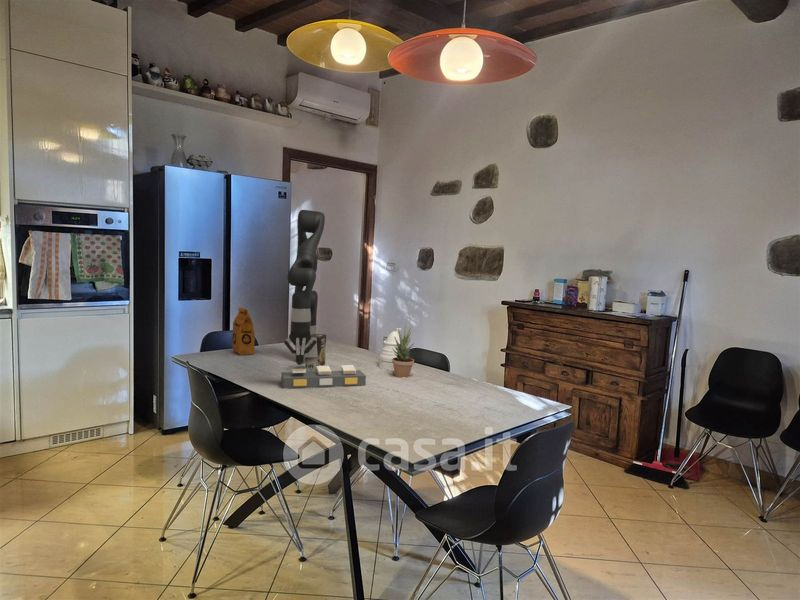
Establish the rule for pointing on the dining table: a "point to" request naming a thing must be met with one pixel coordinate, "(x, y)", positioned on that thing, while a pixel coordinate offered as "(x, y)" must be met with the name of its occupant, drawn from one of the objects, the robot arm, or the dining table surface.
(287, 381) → the switch box
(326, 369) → the switch
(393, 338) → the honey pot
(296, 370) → the switch
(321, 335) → the coffee box
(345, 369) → the switch
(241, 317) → the coffee package
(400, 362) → the potted plant
